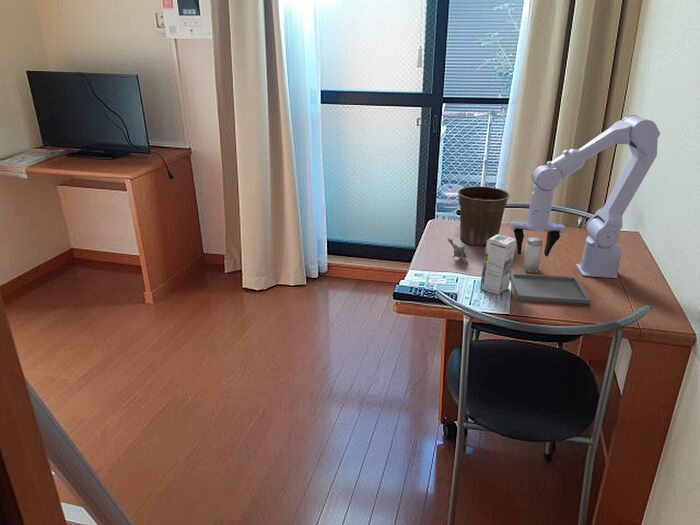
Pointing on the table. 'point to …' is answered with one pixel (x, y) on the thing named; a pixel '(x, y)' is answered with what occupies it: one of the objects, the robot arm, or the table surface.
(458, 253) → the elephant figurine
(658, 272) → the table surface
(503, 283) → the syrup box
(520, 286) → the tray
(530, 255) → the block
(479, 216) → the plant pot
